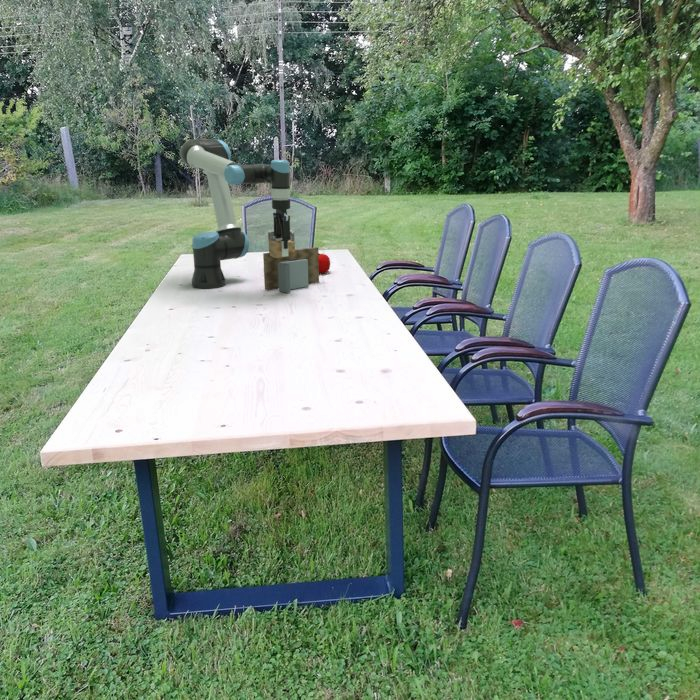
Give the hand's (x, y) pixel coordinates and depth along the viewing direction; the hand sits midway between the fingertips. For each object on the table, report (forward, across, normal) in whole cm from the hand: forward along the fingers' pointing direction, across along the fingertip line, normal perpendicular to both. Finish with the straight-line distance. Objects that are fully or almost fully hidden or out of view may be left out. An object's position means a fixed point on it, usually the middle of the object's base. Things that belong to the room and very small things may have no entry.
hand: (282, 254), depth 267 cm
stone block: (+17, +52, -19) cm, 59 cm away
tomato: (+17, +34, -32) cm, 49 cm away
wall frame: (+16, +12, -10) cm, 22 cm away
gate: (+16, +2, -7) cm, 18 cm away
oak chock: (0, 0, 0) cm, 0 cm away
